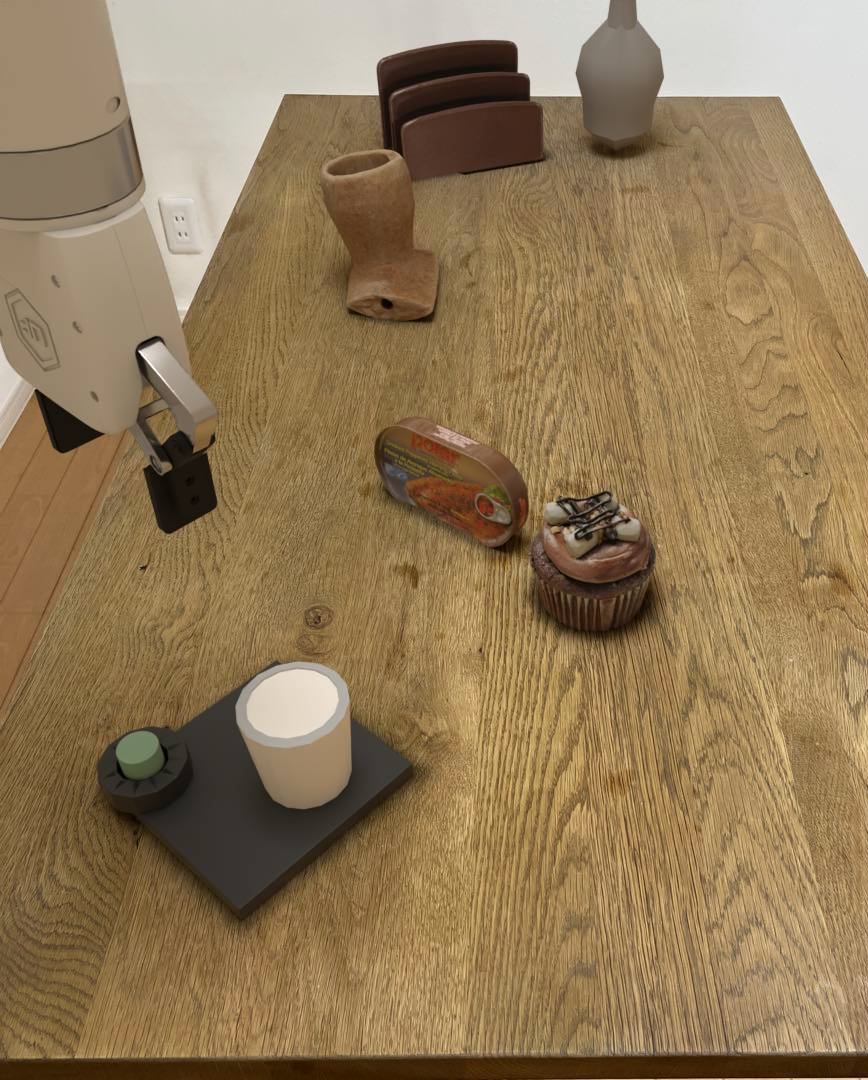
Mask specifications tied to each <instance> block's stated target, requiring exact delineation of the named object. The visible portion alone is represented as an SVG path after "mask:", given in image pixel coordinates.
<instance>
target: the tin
mask: <svg viewBox="0 0 868 1080" xmlns="http://www.w3.org/2000/svg"><path fill="white" fill-rule="evenodd" d="M373 453H374V454H373V457H374V461H375V462H374V463H375V466H376V469H377V472H378V474H379V477H380V479H381V481H382V483H383V485H384V486H385V488H386V490H387V491H388V492H389V494H390V495H391V496H392V497H393V499H394V500H396V501H399V502H404V503H407V504H410V505H412V506H415V507H416V508H417V509H420V510H422V511H424V512H425V513H427V514H429V515H431V516H433V517H435V518H436V519H438V520H441V521H442V522H444V523H447V524H448V525H449V526H452V527H454V528H456V529H458V530H459V531H461V532H463V533H465V534H467V535H469V536H470V537H473V538H475V539H477V540H478V541H480V542H481V543H483V544H484V545H485V546H486V547H488V548H497V547H500V546H502V545H504V544H505V543H507V542H508V541H509V539H510V538H511V537H513V536H514V535H515V534H517V533H518V532H519V531H520V530H521V529H522V528H524V526H525V525H526V522H527V520H528V517H529V510H530V500H529V492H528V488H527V484H526V482H525V480H524V478H523V476H522V474H521V472H520V470H518V468H517V467H516V466H515V465H514V463H513V462H512V461H511V460H510V458H508V457H507V456H506V455H504V454H503V453H502V452H501V451H499V450H497V449H495V448H494V447H492V446H489V445H487V444H485V443H483V442H481V441H479V440H475V439H473V438H471V437H470V436H467V435H464V434H462V433H460V432H458V431H456V430H453V429H451V428H449V427H447V426H444V425H442V424H440V423H437V422H435V421H433V420H431V419H429V418H426V417H424V416H423V417H422V416H417V415H415V416H413V415H412V416H408V417H405V418H402V419H401V420H399V421H397V422H396V423H393V424H392V425H388V426H386V427H384V428H383V429H381V430H380V432H379V433H378V435H377V436H376V438H375V441H374V447H373Z"/></svg>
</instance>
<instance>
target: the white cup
mask: <svg viewBox="0 0 868 1080" xmlns="http://www.w3.org/2000/svg"><path fill="white" fill-rule="evenodd" d="M281 664H282V665H277V666H275V667H273V668H271V669H269V670H267V671H265V672H263V673H261V674H259V675H257V676H256V677H255V678H254V679H253V680H252V681H251V682H250V683H249V684H248V685H247V686H246V687H245V688H244V689H243V690H242V692H241V695H240V697H239V699H238V701H237V704H236V719H237V724H238V727H239V729H240V731H241V734H242V736H243V738H244V740H245V743H246V745H247V747H248V750H249V752H250V754H251V757H252V759H253V761H254V764H255V766H256V768H257V770H258V773H259V775H260V777H261V780H262V782H263V784H264V787H265V789H266V790H267V792H268V793H269V795H270V796H271V797H272V799H273V800H274V801H276V802H278V803H280V804H282V805H283V806H285V807H288V808H296V809H308V808H312V807H317V806H322V805H323V804H325V803H327V802H329V801H330V800H332V799H334V798H335V797H337V796H338V795H339V794H340V792H341V791H342V790H343V789H344V788H345V787H346V785H347V784H348V781H349V778H350V775H351V771H352V763H351V729H350V717H351V701H350V695H349V689H348V685H347V683H346V682H345V680H344V679H343V678H342V676H340V674H339V673H338V672H337V671H336V670H333V669H331V668H330V667H328V666H325V665H323V664H321V663H317V662H307V661H299V660H298V661H294V662H287V663H281Z"/></svg>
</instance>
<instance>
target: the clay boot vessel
mask: <svg viewBox="0 0 868 1080" xmlns="http://www.w3.org/2000/svg"><path fill="white" fill-rule="evenodd" d="M319 183H320V188H321V191H322V192H321V193H322V196H323V197H322V198H323V202H324V206H325V208H326V211H327V214H328V215H329V217H330V219H331V221H332V223H333V225H334V226H335V228H336V230H337V233H338V234H339V236H340V238H341V240H342V242H343V244H344V246H345V248H346V250H347V252H348V255H349V256H350V259H351V262H352V268H351V270H350V272H349V277H348V283H347V296H346V300H345V303H346V307H347V308H348V309H350V310H351V311H354V312H356V313H359V314H361V315H363V316H366V317H370V318H375V319H385V320H394V321H398V322H408V321H414V320H418V319H422V318H425V317H427V316H429V315H431V313H432V312H434V308H435V304H436V300H437V294H438V285H439V277H440V262H439V258H438V255H437V254H436V252H434V251H431V250H427V249H416V248H414V221H415V220H414V219H415V208H416V207H415V206H416V201H415V195H414V189H413V183H412V180H411V178H410V174H409V170H408V167H407V165H406V163H405V161H404V159H403V158H402V157H401V155H400V154H398V153H397V152H395V151H392V150H385V149H384V148H383V149H382V148H381V149H380V148H379V149H378V148H376V149H370V150H360V151H355V152H351V153H348V154H343V155H341V156H338V157H336V158H332V159H331V160H329V161H328V162H326V163H325V164H324V165H323V166H322V168H321V170H320V172H319Z"/></svg>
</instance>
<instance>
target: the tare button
mask: <svg viewBox="0 0 868 1080" xmlns="http://www.w3.org/2000/svg"><path fill="white" fill-rule="evenodd" d="M116 756H117V758H118V761H119V763H120V766H121V768H122V771H123V773H124V775H125V776H126V777H127V778H129V779H131V780H136V781H141V780H146V779H149V778H151V777H153V776H155V775H156V774H157V773H158V772H159V771H160V770H161V769H162V767H163V765H164V761H165V758H164V755H163V752H162V749H161V746H160V743H159V740H158V738H157V737H156V736H155V735H154V734H153V733H151V732H147V731H138V732H134V733H131V734H129V735H127V736H126V737H124V738H123V739H122V740H121V741H120V742H119V744H118V746H117V748H116Z"/></svg>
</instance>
